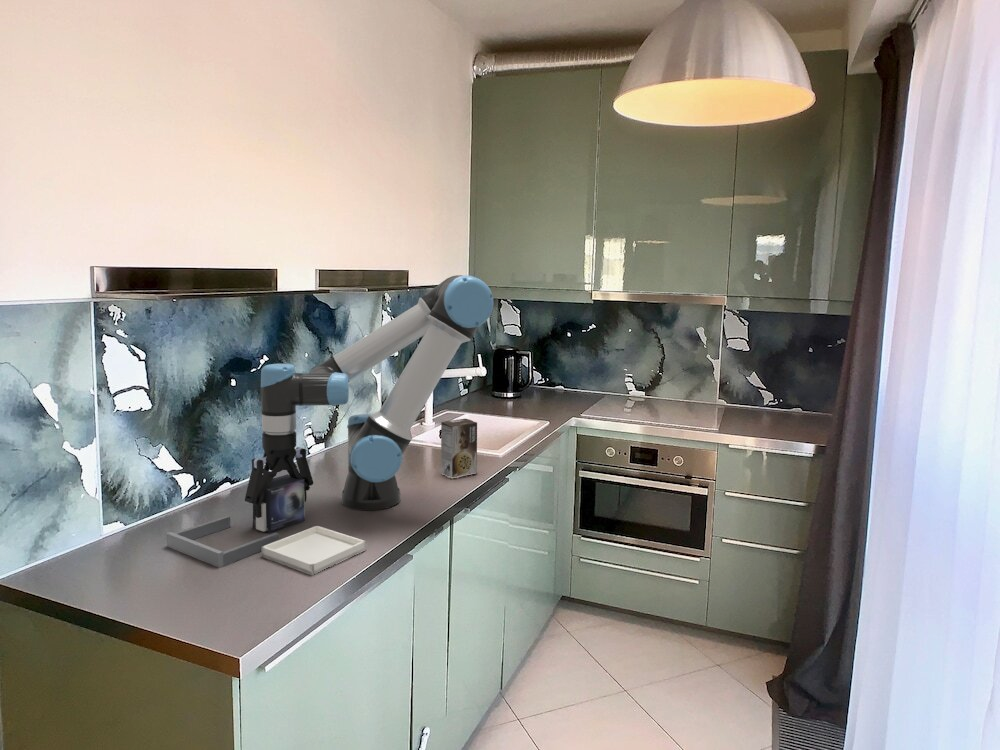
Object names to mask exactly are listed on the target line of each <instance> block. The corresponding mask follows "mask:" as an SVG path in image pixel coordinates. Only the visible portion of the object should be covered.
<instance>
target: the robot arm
mask: <svg viewBox="0 0 1000 750" xmlns="http://www.w3.org/2000/svg"><path fill="white" fill-rule="evenodd" d="M493 311H494V296H493V293H492V290H491V288H490V287H489V286H488V284H486V282H484V281H483V280H481V279H480V278H478V277H476V276H473V275H468V274H467V275H452V276H450V277H447V278H446V279H445V280H443V281H442V282H440V283H438V285H437V286H435V287H434V288H432V289H431V290H430V291H428V292H427V293H425V294H423V295H422V296H421V297H419V298H418V302H417V304H415V305H414V306H412V307H410V308H409V309H408V310H406V311H403V312H402V313H401V314H399V315H397V316H396V317H395V318H393V319H391V320H389V321H388V322H386V323H385V324H383V325H381V326H380V327H378V328H377V329H375V330H373V331H372V332H370V333H369V334H367V335H366V336H364V337H363V338H361V339H359V340H357V341H356V342H354V343H353V344H351V345H349V346H347V347H346V348H344V349H342V350H341V351H340V352H338V353H336V354H335V355H333V356H332V357H330V358H328V359H327V360H325V361H323V362H322V363H317V364H316V365H314V366H313V367H312V368H311V369H310V370H309V372H305V373H304V372H303V373H301V372H297V370H296V367H295V365H293V364H291V363H272V364H266V365H264V366H263V367H262V368H261V370H260V371H261V372H260V373H261V374H260V400H261V402H260V403H261V405H260V406H261V429H262V432H263V433H262V434H261V435H262V436H261V440H262V441H261V442H262V443H261V444H262V446H261V447H262V449H263V451H264V453H263V455H262V457H260V458H255V457H254V458H252V459H251V471H250V475H249V480H248V485H247V488H246V491H245V496H244V501H245V502H247V503H249V504H252V516H253V515H254V517H256V528H255V529H256V530H257V531H260V532H266V531H267V530H266V503H263V500H264V498H265V496H266V489H267V488H269V487H270V484H271V482H272V480H273V478H276V477H277V474H278V473H280V472H282V471H286V472H287V473H288V475H290V476H291V477H293V478H296V479H304V518H305V517H306V511H305V510H306V507H305V505H306V502H307V491H310V489H311V486H313V485H314V480H313V476H312V473H311V471H310V467H309V463H308V459H307V449H306V448H302V447H300V446H299V447H298V446H297V432H296V431H295V430H296V429H297V412H296V411H297V409H296V408H297V406H299V407H302V406H332V407H335V406H340V405H346V404H348V402H349V397H350V396H349V387H350V386H349V385H350V384H349V383H350V382H351V381H353V380H354V379H356V378H357V377H359V376H361V375H362V374H364V373H365V372H367V371H369V370H370V369H373V368H374V367H375V366H376V365H379V364H380V363H381V362H383V361H385V360H386V359H388V358H390V357H391V356H393V355H395V354H397V353H398V352H399V351H401V350H403V349H405V348H406V347H407V346H409V345H410V344H412V343H414V342H415V341H417V340H418V339H420V338H421V339H420V341H419V344H418V345H417V347H416V348H415V350H414V352H413V353H412V355H411V357H410V358H409V360H408V362H407V363H406V365H405V367H404V369H403V370H402V372H401V374H400V375H399V377H398V379H397V380H396V382H395V383H394V385H393V387H392V389H391V391H390V392H389V394H388V396H387V397H386V399H385V401H384V402H383V404H382V406H381V408H380V410H378V411H376V412H373V413H362V414H361V413H360V414H353V415H351V416H349V417H348V419H347V420H348V421H347V427H346V428H347V438H348V439H347V447H348V448H347V450H348V451H347V455H348V457H347V458H348V459H347V463H348V464H347V465H348V466H347V468H348V469H347V470H348V471H347V476H346V479H345V482H344V487H343V489H342V491H341V504H342V505H343V506H344V507H346V508H349V509H352V510H357V511H359V510H360V511H377V510H378V509H379V510H384V508H385V509H388V507H389V508H392V507H395V506H396V504H397V503H398V504H400V502H401V489H400V487H399V486H398V482H397V479H396V478H397V477H396V474H397V473H398V472H399V470H400V468H401V465H402V463H403V455H404V454H405V451H406V450H407V448H408V446H409V444H410V443H411V441H412V440H413V436H412V432H411V429H412V427H413V425H414V424H415V422H416V420H417V418H418V417H419V415H420V414H421V412H422V410H423V409H424V407H425V405H426V403H427V402H428V400H429V398H430V397H431V394H432V393H433V391H434V390H435V388H436V387H437V385H438V383H439V381H440V380H441V378H442V376H443V375H444V373H445V371H446V370H447V368H448V367H449V364H450V363H451V361H452V359H453V358H454V356H455V355H456V353H457V351H458V350H459V348H460V346H461V345H462V344H463V343H466V342H470V341H471V340H472V338H473V337H474V335H475V334H476V332H477V330H478V329H479V327H480V326H481V325H483V324H484V323H486V322H487V320H488V319H489V318H490V317H491V315H492V313H493ZM294 460H295V461H294ZM258 497H259V498H258ZM398 504H397V505H398ZM394 505H395V506H394ZM391 506H392V507H391ZM379 510H378V511H379Z"/></svg>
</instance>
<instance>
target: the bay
mask: <svg viewBox="0 0 1000 750" xmlns="http://www.w3.org/2000/svg"><path fill="white" fill-rule="evenodd" d="M229 528H231V516H229V515H226V516H223V517H220V518H219V517H218V518H216V519H213V520H210V521H207V522H204V523H201V524H198V525H195V526H192V527H189V528H186V529H183V530H179V531H177V532H176V531H175V532H172V531H170V532H166V534H165V535H166V547H167V548H170V549H172V550H174V551H177V552H180V553H182V554H185V555H187V556H190V557H192V558H195V559H197V560H199V561H201V562H203V563H206V564H209V565H212V566H214V567H215V568H222V567H224V566H225V567H226V566H227V565H230V564H232V563H235V562H238V561H240V560H242V559H245V558H248V557H251V556H253V555H255V554H258V553H261V547H262V546H265V545H268V544H270V543H273V542H275V541H278V540H280V533H279V532H272V533H270V534H268V535H265V536H262V537H260V538H256V539H254V540H252V541H248V542H247V543H244V544H241V545H238V546H236V547H232V548H230V549H227V550H224V551H221V550H219V549H217V548H215V547H214V548H213V547H211V546H210V545H209V546H208V545H206V544H203V543H202V542H198V541H195V540H196V539H199V538H201V537H206V536H208V535H212V534H214V533H218V532H219V531H220V532H221V531H222V530H226V529H229Z"/></svg>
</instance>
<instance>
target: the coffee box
mask: <svg viewBox="0 0 1000 750" xmlns="http://www.w3.org/2000/svg"><path fill="white" fill-rule="evenodd" d="M440 427H441V428H440V429H441V430H440V431H441V432H440V434H441V435H440V436H441V437H440V474H441V473H443V474H445V475H447V476H450V477H457V476H461V475H466V474H471V473H478V422H477V421H474V420H472V419H469V418H459V419H453V420H447V421H441V425H440Z"/></svg>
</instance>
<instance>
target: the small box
mask: <svg viewBox="0 0 1000 750" xmlns="http://www.w3.org/2000/svg"><path fill="white" fill-rule="evenodd" d="M258 498H259V497H258ZM263 503H266V530H267V531H265V532H267V533H270V534H271V533H274V532H275V531H278V530H281V529H284V528H286V527H289V526H292V525H295V524H297V523H301V522H305V517H304V479H296V478H293V477H291V476H290V475H289V473H288V474H284V475H280V476H275V477H274V478H273V480H272V482H271V484H270V487H269V488H267V489H266V496H265V498H264V500H263ZM252 527H253V528H255V529H256V517H254V515H253V514H252Z"/></svg>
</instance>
